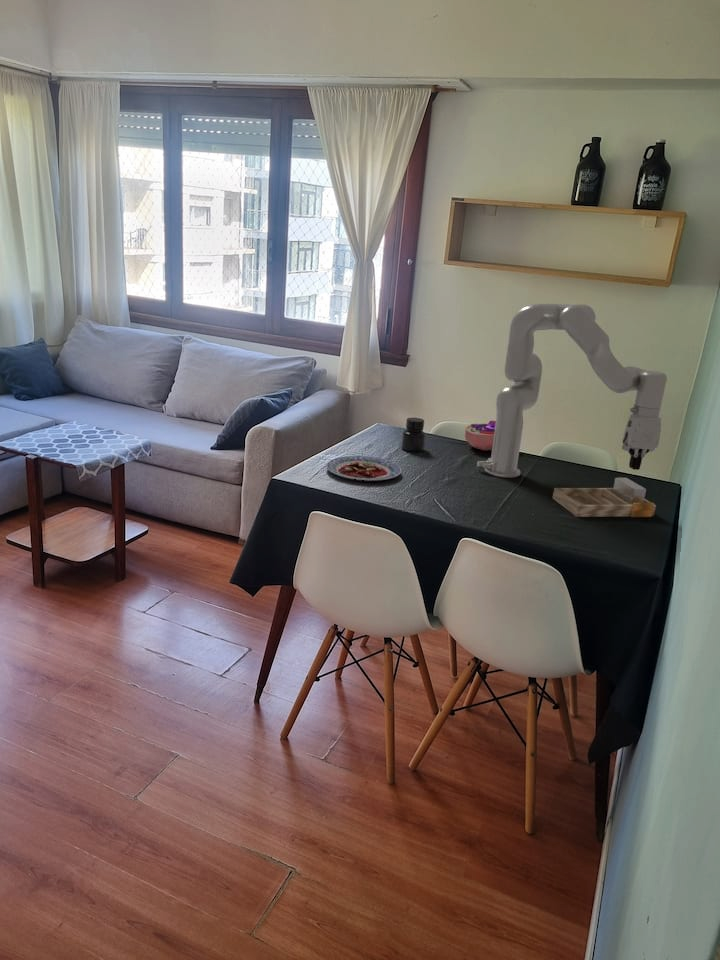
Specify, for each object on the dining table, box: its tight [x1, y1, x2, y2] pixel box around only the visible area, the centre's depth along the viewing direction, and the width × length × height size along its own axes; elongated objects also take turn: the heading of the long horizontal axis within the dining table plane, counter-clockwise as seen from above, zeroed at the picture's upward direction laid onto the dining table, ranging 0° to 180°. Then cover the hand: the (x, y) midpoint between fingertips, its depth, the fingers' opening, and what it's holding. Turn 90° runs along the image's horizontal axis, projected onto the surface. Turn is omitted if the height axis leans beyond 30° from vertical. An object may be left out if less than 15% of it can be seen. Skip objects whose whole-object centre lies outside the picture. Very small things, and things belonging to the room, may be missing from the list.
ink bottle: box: [401, 417, 426, 452], centre depth 260 cm, size 10×9×12 cm
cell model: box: [464, 420, 496, 452], centre depth 268 cm, size 17×20×11 cm
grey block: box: [612, 477, 647, 505], centre depth 214 cm, size 4×11×7 cm, turn 11°
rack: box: [552, 487, 657, 518], centre depth 213 cm, size 26×17×4 cm, turn 101°
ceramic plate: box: [326, 455, 402, 482], centre depth 230 cm, size 26×26×3 cm
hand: (634, 468), depth 211 cm, fingers closed
